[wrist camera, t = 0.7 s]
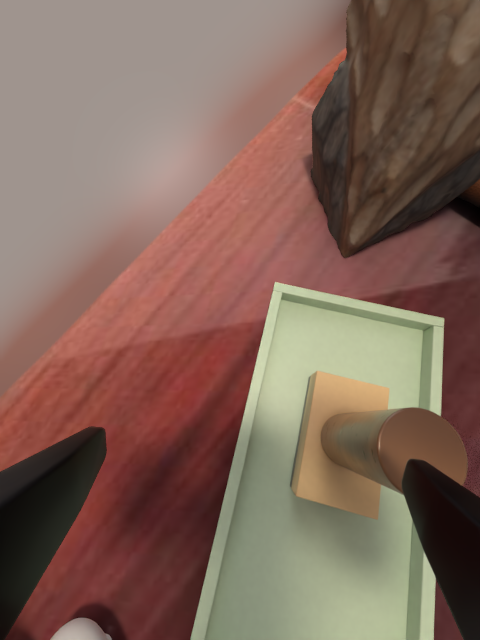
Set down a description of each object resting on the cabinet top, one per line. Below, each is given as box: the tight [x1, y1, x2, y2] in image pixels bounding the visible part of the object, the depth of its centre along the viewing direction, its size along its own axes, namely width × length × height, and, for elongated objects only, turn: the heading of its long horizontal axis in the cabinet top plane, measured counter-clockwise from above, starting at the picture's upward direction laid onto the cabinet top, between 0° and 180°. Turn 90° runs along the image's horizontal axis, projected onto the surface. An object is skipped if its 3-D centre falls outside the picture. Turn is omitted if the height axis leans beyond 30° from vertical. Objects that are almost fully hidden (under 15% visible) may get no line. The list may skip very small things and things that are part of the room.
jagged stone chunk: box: [311, 0, 480, 258], centre depth 20 cm, size 13×13×20 cm
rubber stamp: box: [290, 371, 468, 520], centre depth 16 cm, size 8×5×12 cm, turn 166°
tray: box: [190, 282, 444, 640], centre depth 21 cm, size 26×14×2 cm, turn 166°
